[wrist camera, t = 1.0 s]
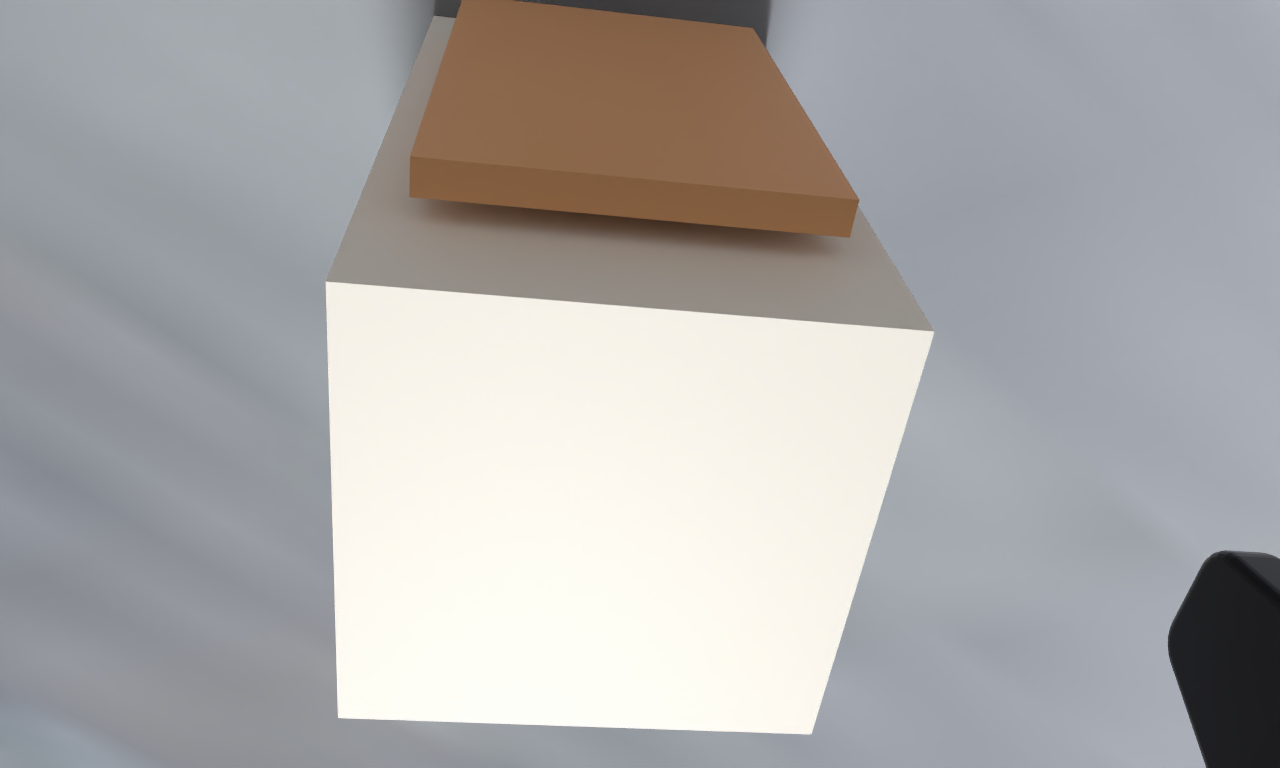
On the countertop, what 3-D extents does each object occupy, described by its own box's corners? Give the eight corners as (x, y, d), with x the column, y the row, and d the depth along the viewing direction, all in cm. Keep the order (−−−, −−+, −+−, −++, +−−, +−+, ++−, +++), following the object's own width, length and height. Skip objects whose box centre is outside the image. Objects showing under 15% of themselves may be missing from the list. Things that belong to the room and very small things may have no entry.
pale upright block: (434, -29, 12) (324, 207, 7) (773, 11, 13) (955, 264, 7) (426, 314, 15) (338, 717, 9) (713, 337, 15) (812, 733, 9)
